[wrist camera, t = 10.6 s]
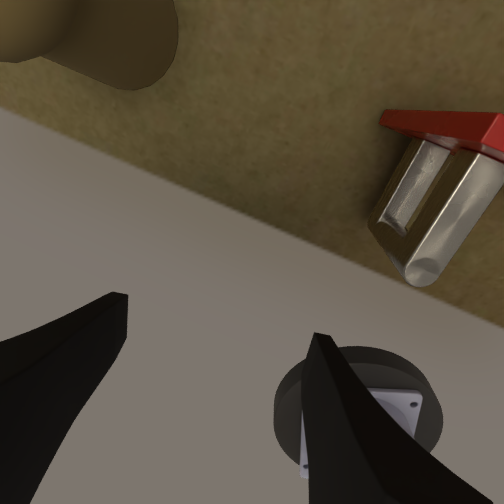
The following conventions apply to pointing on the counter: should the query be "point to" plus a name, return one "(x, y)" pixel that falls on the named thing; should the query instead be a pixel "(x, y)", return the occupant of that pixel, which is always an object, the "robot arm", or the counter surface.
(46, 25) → the brown pawn figure
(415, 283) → the valve door
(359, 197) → the counter surface
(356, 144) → the counter surface
